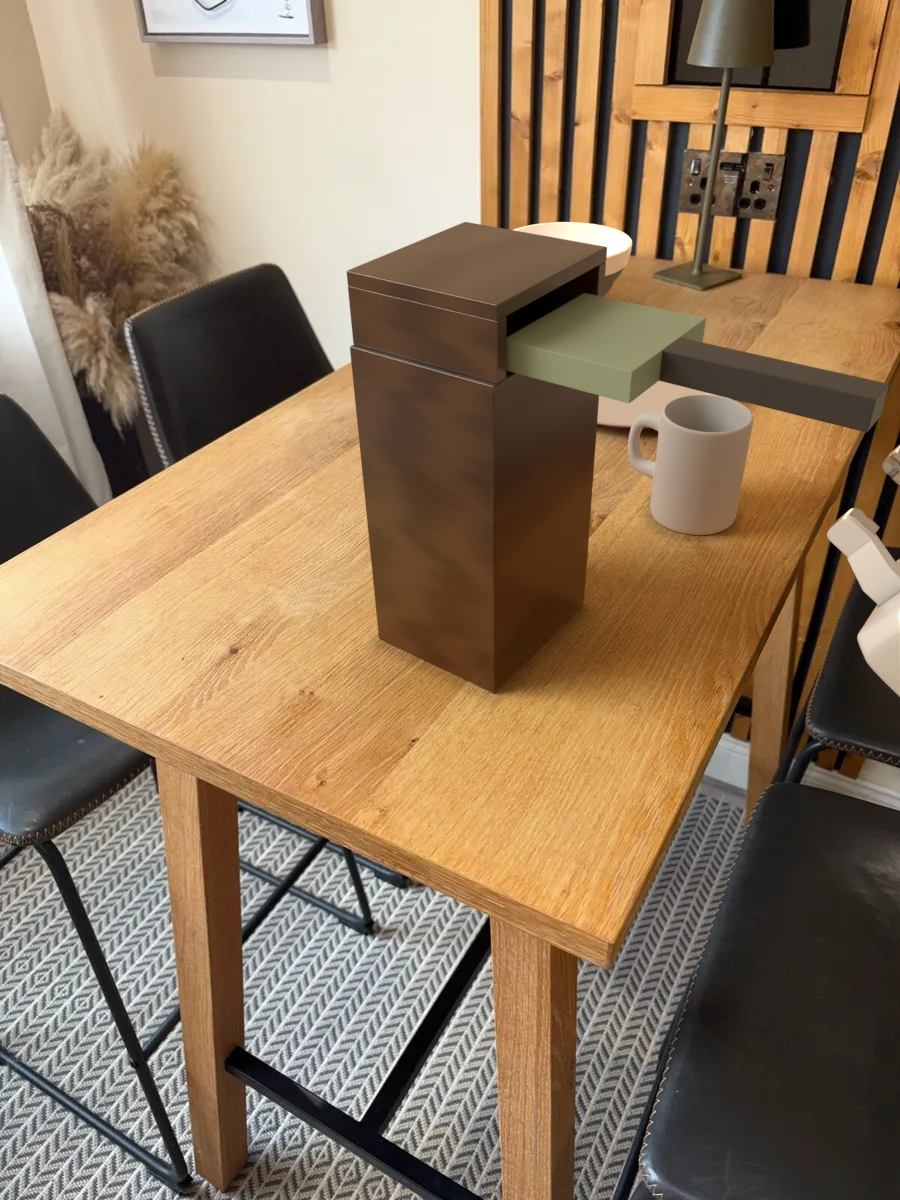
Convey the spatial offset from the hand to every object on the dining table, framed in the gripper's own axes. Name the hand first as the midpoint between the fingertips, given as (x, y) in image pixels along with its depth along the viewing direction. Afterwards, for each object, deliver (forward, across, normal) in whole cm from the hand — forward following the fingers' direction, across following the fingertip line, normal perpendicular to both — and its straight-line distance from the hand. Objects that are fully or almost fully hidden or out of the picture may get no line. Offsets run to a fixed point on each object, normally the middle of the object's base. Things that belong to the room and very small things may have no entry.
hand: (867, 484), depth 53 cm
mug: (+8, -26, +30) cm, 41 cm away
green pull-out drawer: (+12, 0, +3) cm, 12 cm away
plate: (+23, -48, +39) cm, 65 cm away
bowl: (+43, -70, +51) cm, 96 cm away
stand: (+12, 0, +33) cm, 35 cm away
